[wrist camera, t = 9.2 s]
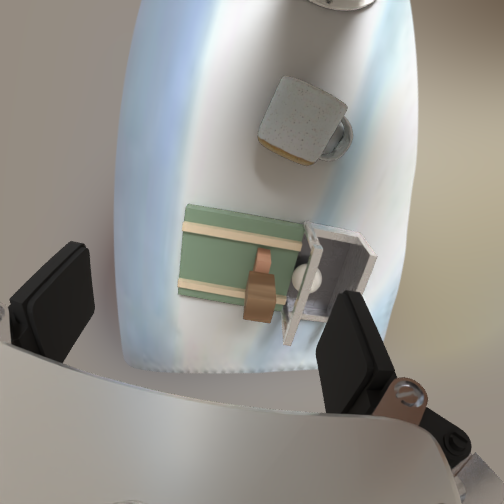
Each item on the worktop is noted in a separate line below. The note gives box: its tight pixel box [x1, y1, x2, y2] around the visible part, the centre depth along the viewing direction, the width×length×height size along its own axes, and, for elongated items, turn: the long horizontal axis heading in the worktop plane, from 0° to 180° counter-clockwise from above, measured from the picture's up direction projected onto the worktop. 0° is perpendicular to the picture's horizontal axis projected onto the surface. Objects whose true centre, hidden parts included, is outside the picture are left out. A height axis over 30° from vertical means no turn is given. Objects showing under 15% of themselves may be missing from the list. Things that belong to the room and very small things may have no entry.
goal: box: [280, 221, 378, 346], centre depth 39 cm, size 14×8×8 cm, turn 170°
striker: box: [243, 248, 276, 323], centre depth 37 cm, size 6×3×9 cm, turn 170°
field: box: [178, 204, 304, 311], centre depth 41 cm, size 13×15×2 cm
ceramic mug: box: [258, 76, 353, 166], centre depth 31 cm, size 11×8×8 cm
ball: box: [292, 264, 322, 294], centre depth 40 cm, size 4×4×4 cm
